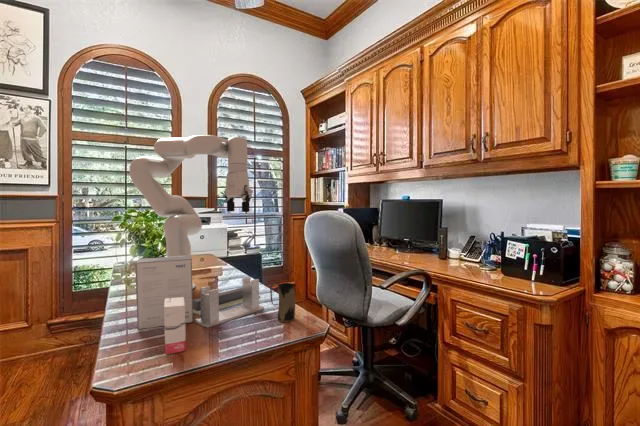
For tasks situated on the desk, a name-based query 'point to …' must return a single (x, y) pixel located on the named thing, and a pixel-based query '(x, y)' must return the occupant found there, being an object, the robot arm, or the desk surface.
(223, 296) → the rail
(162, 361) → the desk surface
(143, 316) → the hard drive box
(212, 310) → the rack
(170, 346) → the ink box
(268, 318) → the desk surface
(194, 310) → the mat
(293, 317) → the mug
